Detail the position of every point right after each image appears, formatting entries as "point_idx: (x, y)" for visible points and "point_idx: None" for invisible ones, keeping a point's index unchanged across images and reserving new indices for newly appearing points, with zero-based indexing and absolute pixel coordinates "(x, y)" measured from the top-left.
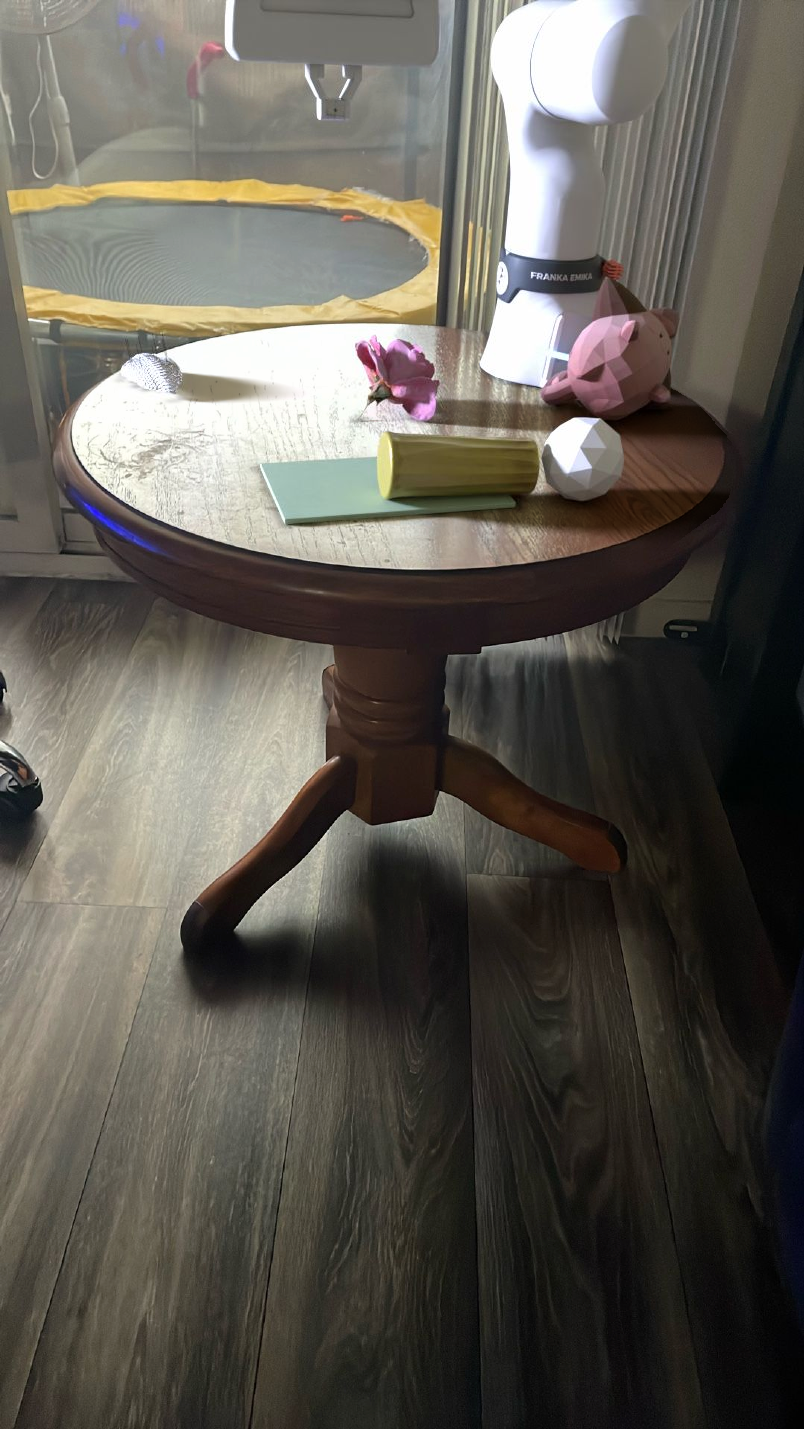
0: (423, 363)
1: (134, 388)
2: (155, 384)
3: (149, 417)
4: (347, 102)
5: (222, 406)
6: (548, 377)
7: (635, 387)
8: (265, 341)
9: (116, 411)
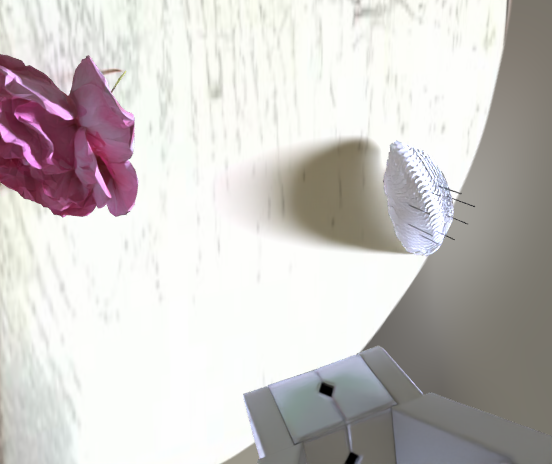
0: None
1: None
2: (416, 155)
3: (418, 72)
4: (276, 439)
5: (327, 123)
6: None
7: None
8: None
9: (454, 93)
